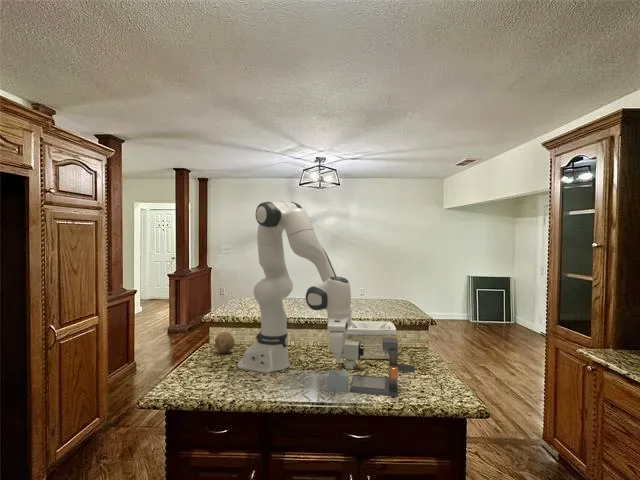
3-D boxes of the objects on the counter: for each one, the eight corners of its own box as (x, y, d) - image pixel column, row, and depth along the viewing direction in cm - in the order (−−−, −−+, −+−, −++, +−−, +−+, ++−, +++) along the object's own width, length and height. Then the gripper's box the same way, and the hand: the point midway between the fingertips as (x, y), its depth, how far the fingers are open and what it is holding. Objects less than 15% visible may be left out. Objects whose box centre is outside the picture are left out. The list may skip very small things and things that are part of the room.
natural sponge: (232, 349, 178) (233, 329, 178) (236, 354, 170) (236, 333, 170) (213, 351, 175) (214, 330, 175) (216, 357, 167) (216, 335, 166)
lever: (389, 380, 124) (389, 368, 124) (389, 373, 131) (389, 362, 131) (398, 380, 124) (398, 369, 124) (397, 373, 130) (397, 362, 130)
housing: (327, 391, 131) (328, 373, 131) (330, 385, 136) (330, 368, 136) (346, 392, 130) (347, 375, 130) (348, 387, 135) (348, 370, 135)
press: (349, 392, 130) (350, 342, 130) (353, 377, 144) (353, 332, 144) (414, 398, 126) (415, 347, 126) (412, 382, 140) (412, 336, 140)
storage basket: (344, 359, 166) (345, 327, 165) (344, 348, 182) (344, 319, 182) (397, 361, 164) (397, 329, 164) (392, 350, 180) (392, 321, 180)
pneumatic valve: (362, 370, 151) (363, 342, 151) (335, 368, 154) (335, 340, 154) (363, 366, 157) (364, 339, 157) (337, 364, 159) (337, 337, 159)
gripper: (335, 314, 143) (335, 349, 143) (326, 327, 123) (327, 367, 123) (350, 315, 142) (351, 350, 142) (344, 327, 122) (345, 368, 122)
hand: (340, 358), depth 133 cm, fingers open, 8 cm apart
